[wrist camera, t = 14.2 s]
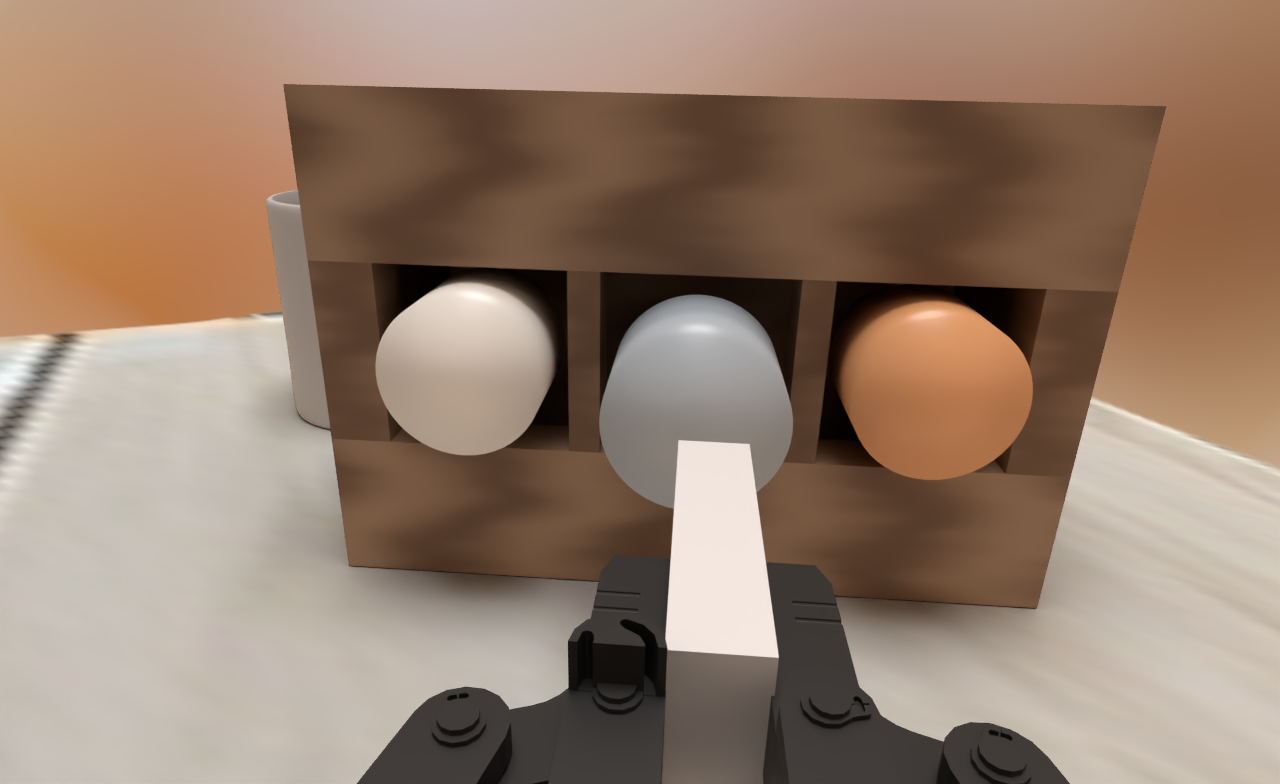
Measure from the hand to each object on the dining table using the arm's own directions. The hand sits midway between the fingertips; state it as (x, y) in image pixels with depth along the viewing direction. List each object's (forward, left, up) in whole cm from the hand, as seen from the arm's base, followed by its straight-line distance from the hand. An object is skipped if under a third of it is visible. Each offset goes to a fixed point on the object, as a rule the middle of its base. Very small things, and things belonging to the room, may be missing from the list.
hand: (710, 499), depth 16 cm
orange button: (+7, +10, -2) cm, 13 cm away
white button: (-7, +10, -2) cm, 13 cm away
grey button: (0, +8, -2) cm, 8 cm away
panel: (0, +13, -8) cm, 15 cm away
